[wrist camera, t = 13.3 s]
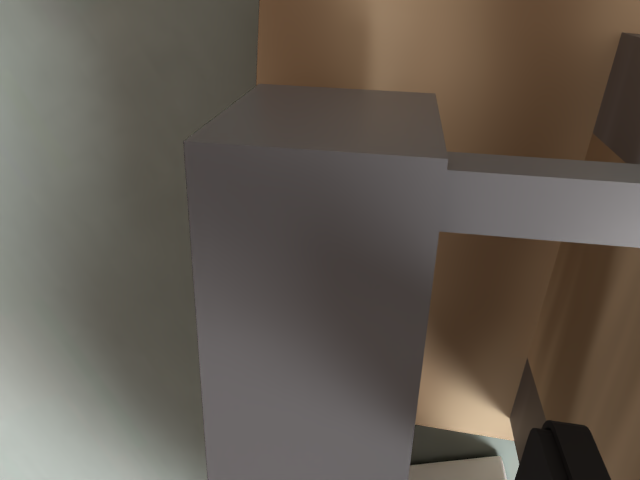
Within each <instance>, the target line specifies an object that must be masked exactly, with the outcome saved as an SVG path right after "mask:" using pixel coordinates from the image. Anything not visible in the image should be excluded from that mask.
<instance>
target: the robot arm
mask: <svg viewBox="0 0 640 480" xmlns="http://www.w3.org/2000/svg"><path fill="white" fill-rule="evenodd" d="M515 480H611V478H610V475H609V473H608V471H607V468H606V466H605V464H604V461H603V459H602V457H601V454H600V452H599V450H598V447H597V445H596V443H595V440H594V438H593V436H592V433H591V432H590V430H589V428H588V427H587V426H585V425H580V424H573V423H566V422H559V421H552V420H547V421H545V423H544V424H543V426H542V428H541V429H540V428H532V429H531V430H530V433H529V436H528V439H527V442H526V445H525V448H524V452H523V455H522V458H521V461H520V464H519V468H518V471H517V474H516V477H515Z"/></svg>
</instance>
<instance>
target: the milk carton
mask: <svg viewBox="0 0 640 480" xmlns="http://www.w3.org/2000/svg"><path fill="white" fill-rule="evenodd" d="M408 480H507V477H506V473H505V468H504V464H503V461H502V458H501V457H500V456H493V457H483V458H473V459H464V460H455V461H445V462H436V463H427V464H418V465H410V469H409V477H408Z"/></svg>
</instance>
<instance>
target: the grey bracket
mask: <svg viewBox="0 0 640 480" xmlns="http://www.w3.org/2000/svg"><path fill="white" fill-rule="evenodd" d="M183 142H184V156H185V170H186V184H187V198H188V212H189V226H190V240H191V254H192V268H193V282H194V295H195V309H196V323H197V337H198V351H199V365H200V379H201V393H202V407H203V421H204V435H205V449H206V462H207V476H208V480H408V477H409V469H410V461H411V453H412V445H413V437H414V429H415V421H416V413H417V405H418V397H419V389H420V381H421V373H422V365H423V357H424V349H425V341H426V333H427V325H428V317H429V309H430V301H431V293H432V285H433V277H434V269H435V261H436V253H437V246H438V238H439V232H451V233H463V234H475V235H488V236H500V237H512V238H525V239H537V240H549V241H561V242H574V243H586V244H598V245H610V246H623V247H635V248H640V164H629V163H614V162H598V161H583V160H568V159H553V158H538V157H523V156H508V155H493V154H477V153H462V152H447V150H446V145H445V140H444V134H443V129H442V124H441V119H440V114H439V109H438V104H437V99H436V94H435V93H418V92H400V91H382V90H364V89H345V88H327V87H309V86H291V85H273V84H258V85H257V86H256V87H254V88H253V89H252V90H250V91H249V92H248V93H246V94H245V95H244V96H242V97H241V98H240V99H238V100H237V101H236V102H234V103H233V104H232V105H231V106H229V107H228V108H227V109H225V110H224V111H223V112H221V113H220V114H219V115H217V116H216V117H215V118H213V119H212V120H211V121H209V122H208V123H207V124H205V125H204V126H203V127H201V128H200V129H199V130H197V131H196V132H195V133H193V134H192V135H191V136H190V137H188V138H187V139H186V140H184V141H183Z"/></svg>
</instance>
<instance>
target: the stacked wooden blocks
mask: <svg viewBox="0 0 640 480" xmlns="http://www.w3.org/2000/svg"><path fill="white" fill-rule="evenodd" d="M258 84H273V85H291V86H309V87H327V88H345V89H364V90H382V91H400V92H418V93H435V94H436V99H437V104H438V109H439V114H440V119H441V124H442V129H443V134H444V140H445V145H446V150H447V152H462V153H477V154H493V155H508V156H523V157H538V158H553V159H568V160H583V161H598V162H614V163H629V164H640V0H259V24H258V50H257V77H256V86H257V85H258ZM547 420H552V421H559V422H566V423H573V424H580V425H585V426H587V427H588V428H589V430H590V432H591V433H592V436H593V438H594V440H595V443H596V445H597V447H598V450H599V452H600V454H601V457H602V459H603V461H604V464H605V466H606V468H607V471H608V473H609V475H610V478H611V480H640V248H635V247H623V246H610V245H598V244H586V243H574V242H561V241H549V240H537V239H525V238H512V237H500V236H488V235H475V234H463V233H451V232H439V238H438V246H437V253H436V261H435V269H434V277H433V285H432V293H431V301H430V309H429V317H428V325H427V333H426V341H425V349H424V357H423V365H422V373H421V381H420V389H419V397H418V405H417V413H416V421H415V425H421V426H427V427H433V428H439V429H445V430H451V431H458V432H464V433H470V434H476V435H482V436H488V437H494V438H500V439H506V440H512V441H514V442H515V446H516V451H517V455H518V460H519V464H520V461H521V458H522V455H523V452H524V448H525V445H526V442H527V439H528V436H529V433H530V430H531V429H532V428H540V429H541V428H542V426H543V424H544V423H545V421H547Z"/></svg>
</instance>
